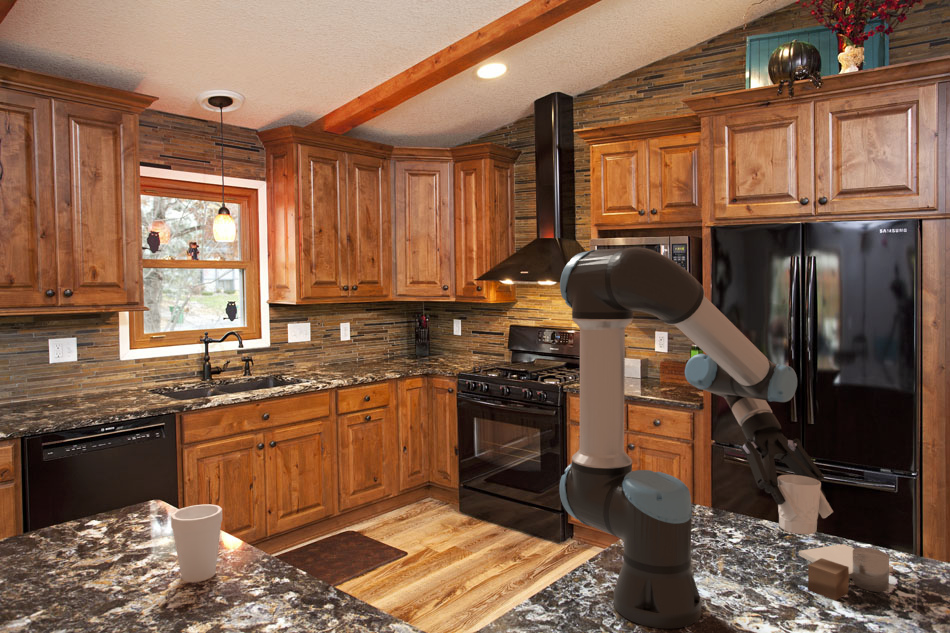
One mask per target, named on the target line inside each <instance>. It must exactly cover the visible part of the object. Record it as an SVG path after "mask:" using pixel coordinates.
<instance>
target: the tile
mask: <svg viewBox="0 0 950 633" xmlns="http://www.w3.org/2000/svg"><path fill="white" fill-rule="evenodd" d="M853 549H855V548H854V547H851V546H849V545H847V544H846V543H844V544H843V543H842V544H837V545H830V546H824V547H823V546H822V547H816V548H809V549H802V550H798V556H800V557H801V558H802V559H805V560H807V561H808V562H810V563H813V562H815V561H817V560H819V559H821V558H822V559H826V560H829V561H832V562H835V563H838V564H841V565H844V566H847V567H849V580H850V579H852V566H853ZM893 572H894V566H892V565H891V564H889V573H893Z"/></svg>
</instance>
